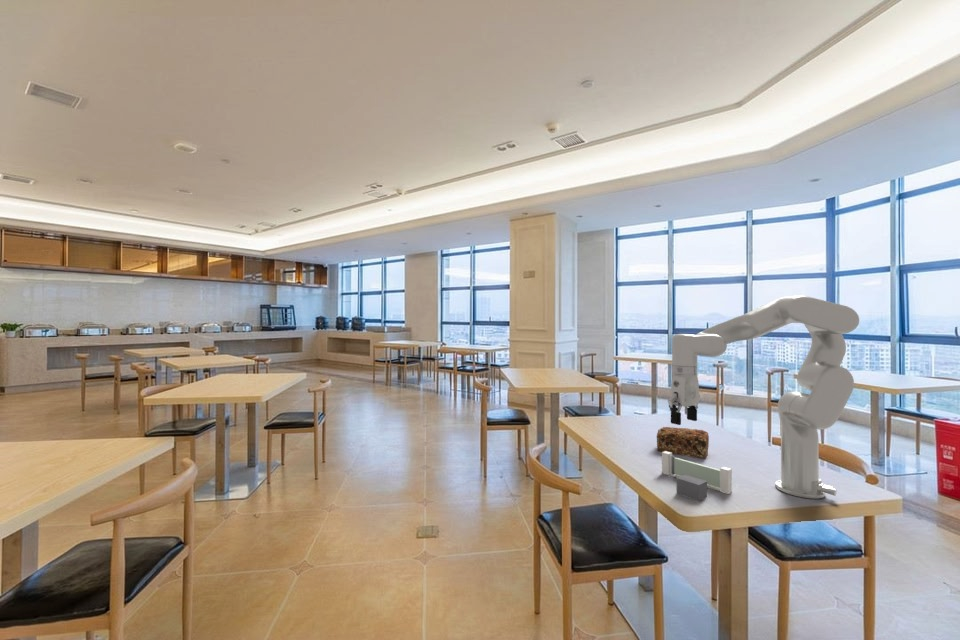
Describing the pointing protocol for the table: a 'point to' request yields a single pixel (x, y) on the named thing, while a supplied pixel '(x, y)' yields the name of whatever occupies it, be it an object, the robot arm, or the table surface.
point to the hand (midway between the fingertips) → (683, 422)
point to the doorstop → (692, 487)
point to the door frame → (724, 484)
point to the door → (695, 471)
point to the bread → (683, 441)
